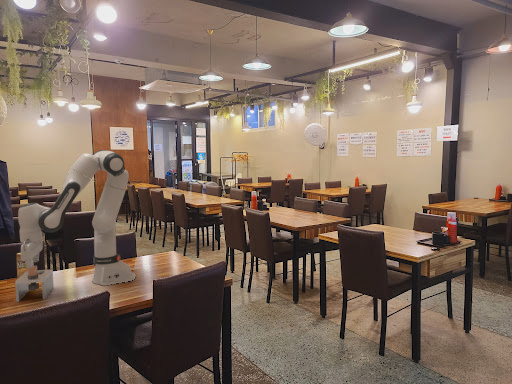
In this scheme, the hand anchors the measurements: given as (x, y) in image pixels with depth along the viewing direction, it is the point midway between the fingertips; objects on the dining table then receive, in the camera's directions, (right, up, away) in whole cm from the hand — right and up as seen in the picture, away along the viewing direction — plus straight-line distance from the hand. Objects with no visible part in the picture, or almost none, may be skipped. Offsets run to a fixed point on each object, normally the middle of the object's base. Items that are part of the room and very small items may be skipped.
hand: (33, 264), depth 171 cm
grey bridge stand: (-1, -16, +4) cm, 16 cm away
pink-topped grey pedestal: (0, -12, +1) cm, 12 cm away
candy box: (-18, -14, +23) cm, 32 cm away
